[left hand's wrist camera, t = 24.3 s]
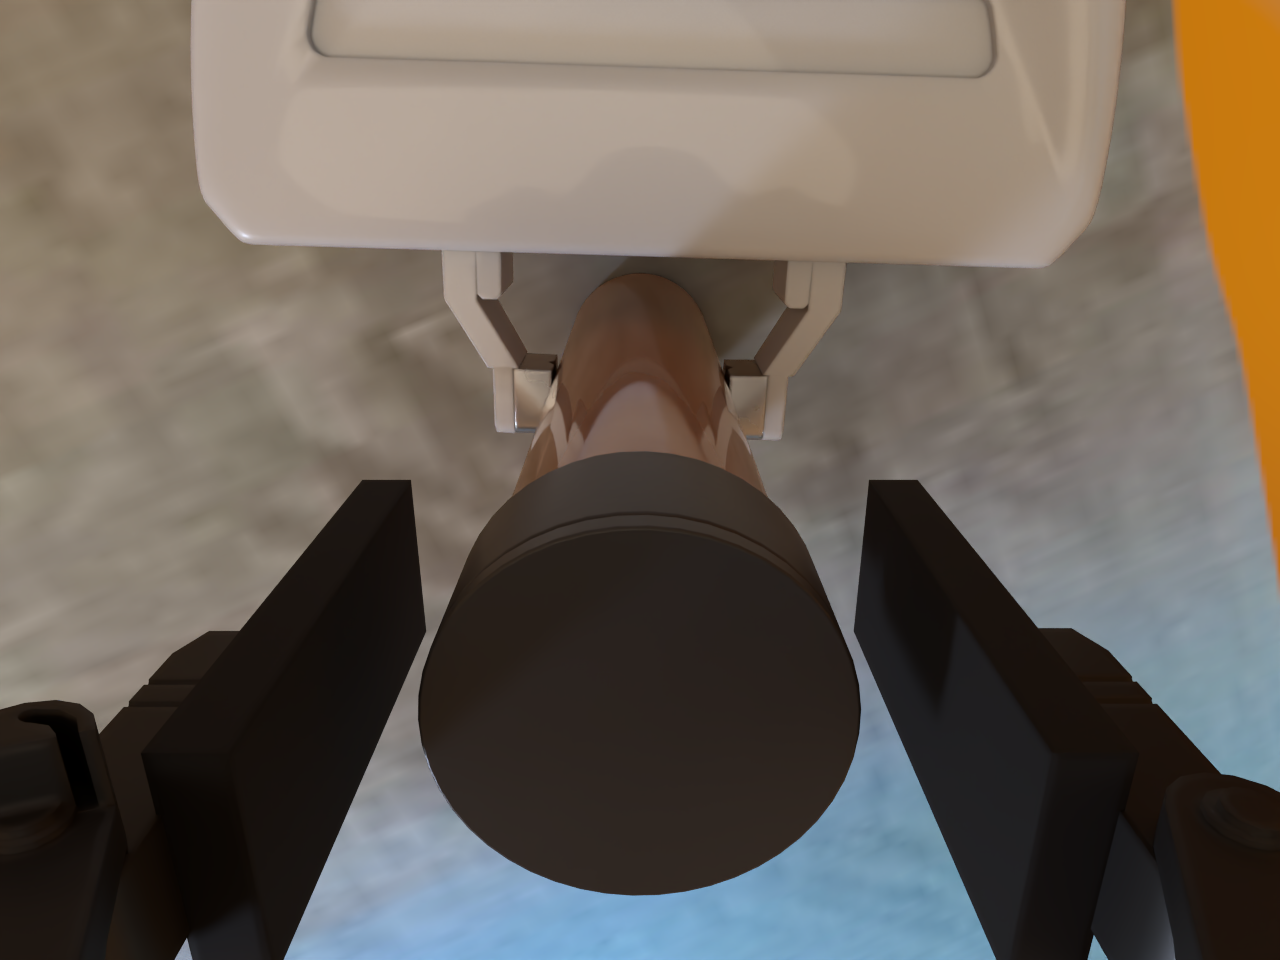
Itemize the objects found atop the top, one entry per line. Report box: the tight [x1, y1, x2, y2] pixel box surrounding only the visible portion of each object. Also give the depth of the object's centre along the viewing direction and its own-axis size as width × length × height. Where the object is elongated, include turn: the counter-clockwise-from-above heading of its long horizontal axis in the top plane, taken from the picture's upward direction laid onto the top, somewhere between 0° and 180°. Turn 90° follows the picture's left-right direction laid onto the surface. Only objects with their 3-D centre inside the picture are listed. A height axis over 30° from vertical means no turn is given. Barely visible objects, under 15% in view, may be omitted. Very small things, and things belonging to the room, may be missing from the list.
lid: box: [418, 451, 861, 895], centre depth 11 cm, size 5×5×2 cm
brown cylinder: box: [512, 273, 768, 498], centre depth 20 cm, size 4×4×20 cm
